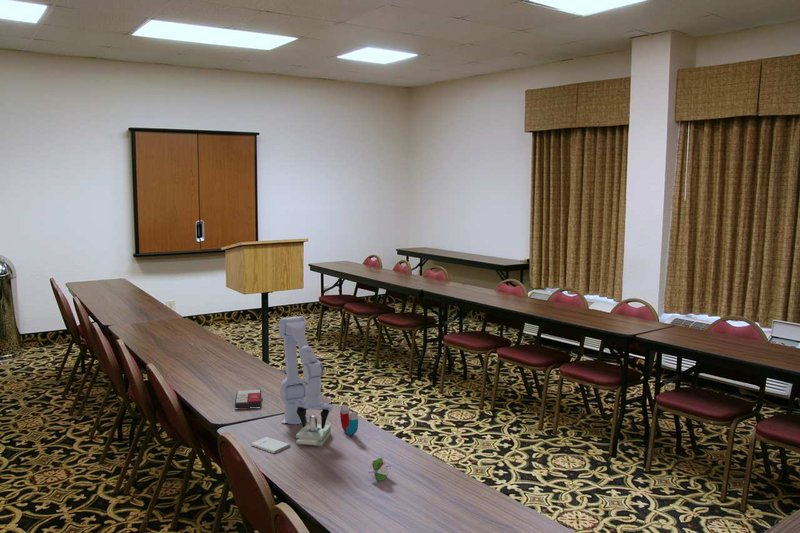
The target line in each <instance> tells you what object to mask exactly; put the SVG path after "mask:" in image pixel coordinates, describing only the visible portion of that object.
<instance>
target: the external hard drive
mask: <svg viewBox="0 0 800 533" xmlns="http://www.w3.org/2000/svg"><path fill="white" fill-rule="evenodd" d="M251 445H253V446H255V447H254V448H256V447H258V448H257V449H259V448H261V449H260V450H262V449H263V450H262V451H264V450H266V451H265V452H267V451H268V453H270V452H271V453H270V454H273V453H275V454H277V453H279V452H282V451H284V450H286V449H288V448H289V447H291V444H290V443H287V442H283V441H282V440H278V439H275V438H271V437H268V436H265V437H262V438H260V439H257V440H256V441H253V442H252V443H250V446H251ZM253 446H252V447H253ZM281 450H282V451H281Z"/></svg>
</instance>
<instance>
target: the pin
mask: <svg viewBox="0 0 800 533" xmlns="http://www.w3.org/2000/svg"><path fill="white" fill-rule="evenodd" d="M309 423H310V432H316V433H318V431H317V424H318V415H316V414H314V415H313V414H312V415H309Z"/></svg>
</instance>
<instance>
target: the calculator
mask: <svg viewBox="0 0 800 533" xmlns="http://www.w3.org/2000/svg"><path fill="white" fill-rule="evenodd" d="M250 407H261V408H262V390H261V389H250V390H247V389H246V390H237V391H236V395H235V402H234V409H235V408H250Z"/></svg>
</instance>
